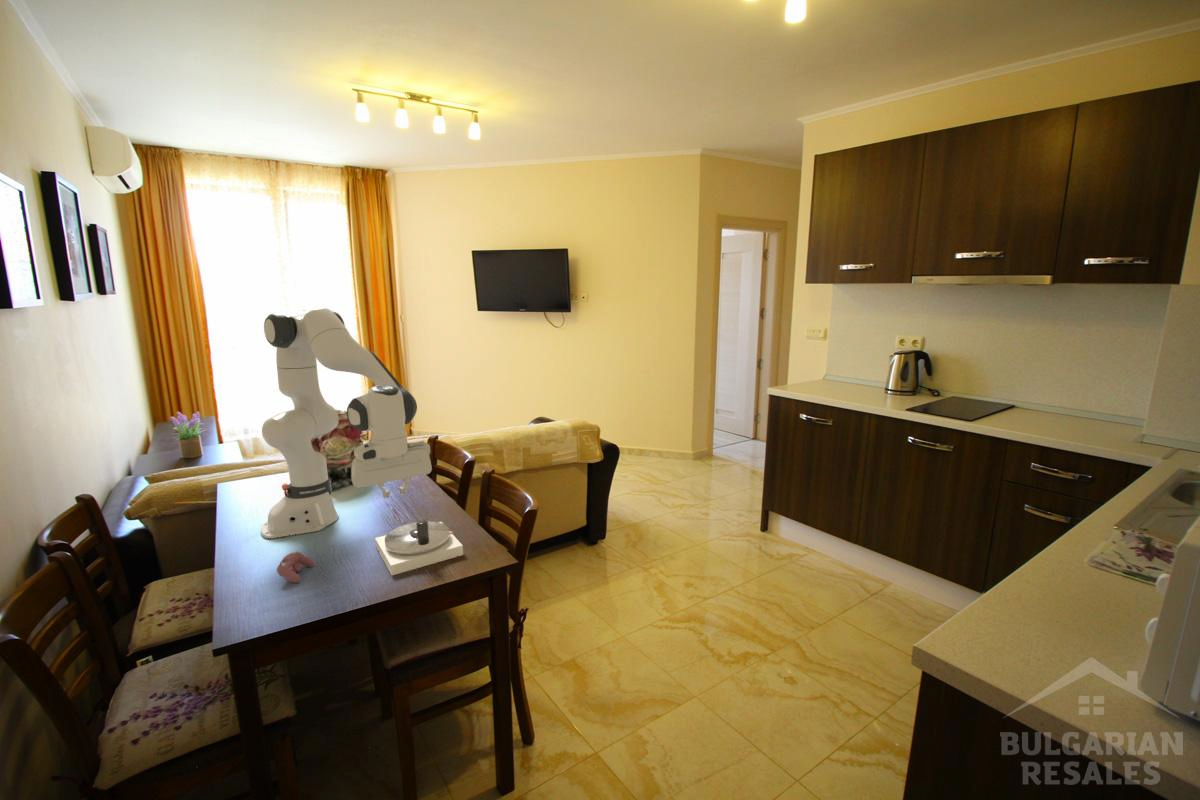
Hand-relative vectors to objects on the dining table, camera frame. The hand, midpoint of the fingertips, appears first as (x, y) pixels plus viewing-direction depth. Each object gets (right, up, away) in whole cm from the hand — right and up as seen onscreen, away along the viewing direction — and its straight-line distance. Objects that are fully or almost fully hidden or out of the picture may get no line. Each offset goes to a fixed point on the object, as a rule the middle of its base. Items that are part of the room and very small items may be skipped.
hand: (394, 495), depth 145 cm
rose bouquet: (-51, -8, +73) cm, 90 cm away
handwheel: (+2, -16, +12) cm, 20 cm away
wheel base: (+2, -19, +13) cm, 23 cm away
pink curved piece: (-27, -22, +1) cm, 35 cm away
